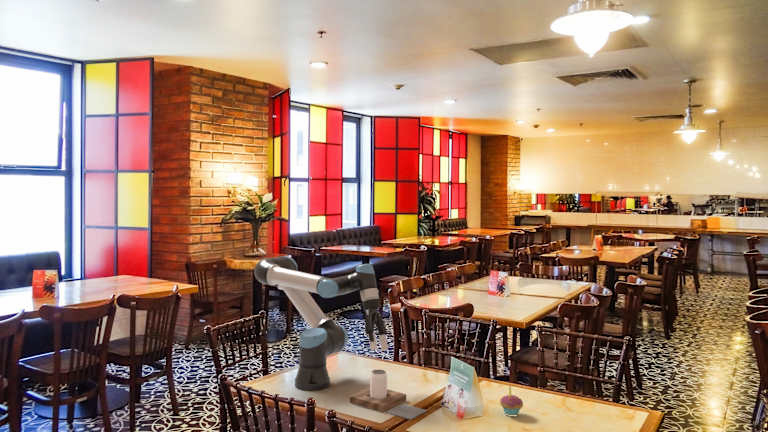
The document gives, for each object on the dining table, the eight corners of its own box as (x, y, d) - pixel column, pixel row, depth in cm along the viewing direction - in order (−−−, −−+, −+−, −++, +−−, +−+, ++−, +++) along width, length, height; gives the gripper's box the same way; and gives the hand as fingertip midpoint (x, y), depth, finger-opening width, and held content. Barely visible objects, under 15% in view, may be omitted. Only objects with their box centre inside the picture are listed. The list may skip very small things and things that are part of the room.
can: (384, 405, 224) (385, 374, 223) (368, 403, 225) (369, 373, 225) (387, 399, 230) (388, 369, 230) (372, 398, 231) (372, 368, 231)
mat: (386, 412, 216) (386, 411, 216) (403, 404, 225) (403, 403, 225) (410, 419, 209) (410, 418, 209) (426, 411, 218) (426, 410, 218)
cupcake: (518, 420, 211) (519, 388, 210) (496, 415, 215) (496, 384, 215) (525, 413, 218) (526, 382, 217) (504, 408, 222) (505, 378, 222)
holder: (349, 402, 226) (350, 396, 226) (374, 391, 239) (374, 385, 239) (382, 412, 216) (382, 405, 216) (406, 400, 229) (406, 394, 229)
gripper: (368, 295, 232) (378, 347, 226) (387, 300, 255) (397, 348, 249) (351, 299, 234) (360, 351, 228) (372, 304, 257) (381, 352, 251)
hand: (379, 350), depth 238 cm, fingers open, 13 cm apart
